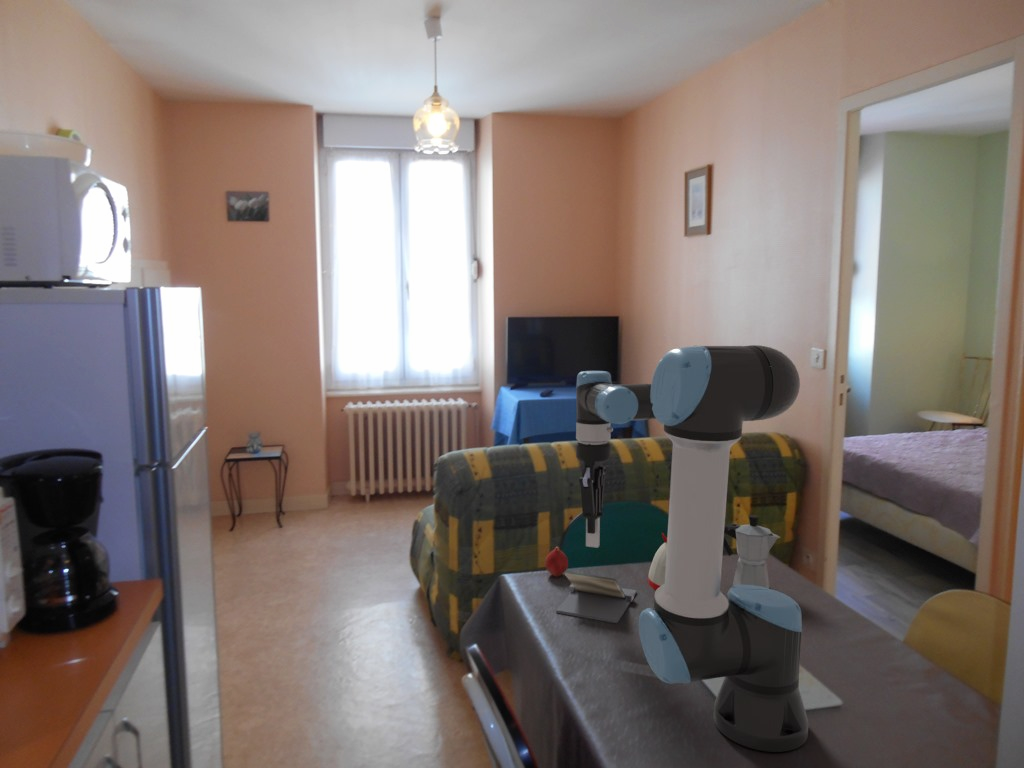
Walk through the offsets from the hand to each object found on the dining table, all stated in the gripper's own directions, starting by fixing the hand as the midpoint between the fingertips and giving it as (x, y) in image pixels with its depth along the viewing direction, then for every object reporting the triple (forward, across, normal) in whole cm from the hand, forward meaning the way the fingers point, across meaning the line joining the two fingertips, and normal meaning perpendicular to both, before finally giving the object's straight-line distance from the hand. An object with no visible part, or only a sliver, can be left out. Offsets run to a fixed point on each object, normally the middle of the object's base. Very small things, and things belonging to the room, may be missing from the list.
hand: (592, 545), depth 160 cm
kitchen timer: (+15, +23, -15) cm, 32 cm away
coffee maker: (+15, +29, -31) cm, 45 cm away
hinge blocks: (+15, +8, 0) cm, 17 cm away
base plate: (+15, +5, 0) cm, 16 cm away
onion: (+15, +16, +14) cm, 26 cm away
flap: (+14, +8, 0) cm, 16 cm away
